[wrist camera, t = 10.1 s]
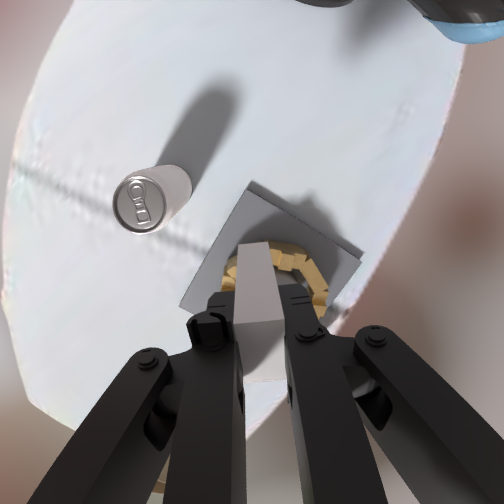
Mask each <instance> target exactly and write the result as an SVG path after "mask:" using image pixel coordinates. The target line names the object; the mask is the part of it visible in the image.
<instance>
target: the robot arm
mask: <svg viewBox="0 0 504 504" xmlns="http://www.w3.org/2000/svg"><path fill="white" fill-rule="evenodd" d="M296 1H299V2H301V3H304V4H308V5H312V6H318V7H340V6H344V5H347V4H349V3H351V2H352V1H354V0H296ZM407 1H408V2H410V3H411V4H412V5H413V6H414V7H415V8H416V9H417V10H418V11H419V12H420V13H421V14H422V15H423V17H424V18H425V19H426V20H428V21H430V22H431V23H432V24H433V25H434V26H435V27H436V28H437V29H438V30H439V31H440V32H441V33H442V34H443V35H444V36H446V37H447V38H448V39H450V40H452V41H455V42H459V43H463V44H477V43H484V42H488V41H492V40H495V39H498V38H501V37H503V36H504V0H407ZM186 326H187V329H188V333H189V336H190V339H191V343H192V348H191V349H190V350H188V351H186V352H183V353H180V354H176V355H172V356H168V355H167V353H166V352H165V351H164V350H162V349H159V348H151V347H150V348H146V349H142V350H140V351H138V352H136V353H135V354H134V355H133V356H132V357H131V358H130V359H129V360H128V362H127V363H126V364H125V366H124V367H123V368H122V370H121V371H120V372H119V373H118V375H117V376H116V377H115V379H114V380H113V381H112V383H111V384H110V385H109V387H108V388H107V389H106V391H105V392H104V393H103V395H102V396H101V397H100V399H99V400H98V401H97V403H96V404H95V406H94V407H93V408H92V410H91V411H90V412H89V414H88V415H87V416H86V418H85V419H84V421H83V422H82V423H81V425H80V426H79V428H78V429H77V430H76V432H75V433H74V435H73V436H72V437H71V439H70V440H69V442H68V443H67V444H66V446H65V447H64V449H63V450H62V452H61V453H60V455H59V456H58V457H57V459H56V460H55V462H54V463H53V465H52V466H51V468H50V469H49V471H48V472H47V474H46V475H45V477H44V478H43V480H42V481H41V483H40V484H39V486H38V487H37V489H36V490H35V492H34V493H33V495H32V496H31V498H30V499H29V501H28V503H27V504H146V503H147V500H148V498H149V496H150V494H151V492H152V490H153V488H154V486H155V484H156V482H157V480H158V478H159V476H160V474H161V472H162V470H163V468H164V466H165V464H166V462H167V459H168V457H169V455H170V459H169V465H168V471H167V478H166V484H165V491H164V497H163V504H247V493H246V438H245V393H244V388H243V380H244V383H255V382H266V381H276V380H285V379H287V388H288V403H289V404H290V411H291V417H292V424H293V431H294V438H295V445H296V452H297V459H298V465H299V474H300V481H301V489H302V495H303V503H304V504H388V501H387V498H386V495H385V491H384V488H383V484H382V481H381V478H380V474H379V471H378V468H377V465H376V461H375V458H374V455H373V452H372V449H371V446H370V443H369V440H368V437H367V434H366V431H365V428H364V425H365V426H366V428H367V429H368V431H369V432H370V433H371V435H372V436H373V438H374V439H375V441H376V442H377V444H378V445H379V446H380V448H381V449H382V451H383V452H384V453H385V455H386V456H387V458H388V459H389V461H390V462H391V463H392V465H393V466H394V468H395V469H396V470H397V472H398V473H399V475H400V476H401V477H402V479H403V480H404V482H405V483H406V484H407V486H408V487H409V489H410V490H411V491H412V493H413V494H414V496H415V497H416V498H417V500H418V501H419V503H420V504H504V440H503V439H502V437H501V436H500V435H499V434H498V433H497V432H496V431H495V430H494V429H493V428H492V427H491V426H490V425H489V424H488V423H487V422H486V421H485V420H484V419H483V418H482V417H481V416H480V415H479V414H478V413H477V412H476V411H475V410H474V409H473V408H472V407H471V406H470V405H469V404H468V402H467V401H465V400H464V399H463V398H462V397H461V396H460V395H459V394H458V393H457V392H456V391H455V390H454V389H453V388H452V387H451V386H450V385H449V384H448V383H447V382H446V381H445V380H444V379H443V378H442V377H441V376H440V375H439V374H438V373H437V372H436V371H434V369H433V368H431V367H430V366H429V365H428V364H427V363H426V362H425V361H424V360H423V359H422V358H421V357H420V356H419V355H418V354H417V353H415V352H414V351H413V350H412V349H411V348H410V347H409V346H408V345H407V344H406V343H405V342H404V341H402V340H401V339H400V338H399V337H398V336H397V335H396V334H395V333H394V332H393V331H391V330H390V329H388V328H386V327H383V326H377V325H371V326H366V327H363V328H362V329H360V330H359V331H358V332H357V334H356V336H355V338H353V337H340V336H335V335H332V334H330V333H329V331H328V330H327V329H326V327H324V326H322V325H321V324H320V322H319V320H318V317H317V315H316V312H315V309H314V307H313V304H312V302H311V299H310V297H309V294H308V291H307V289H306V288H305V287H304V286H302V285H301V284H300V283H295V284H286V285H277V281H276V277H275V272H274V268H273V263H272V258H271V254H270V249H269V245H268V242H259V243H249V244H239V245H238V255H237V270H236V286H235V290H234V291H223V292H214V293H213V295H212V296H211V297H210V298H209V299H208V303H207V308H206V311H202V312H200V313H197V314H195V315H194V316H192V317H191V318H190V319H189V320H188V322H187V323H186ZM363 423H364V425H363ZM170 453H171V454H170Z"/></svg>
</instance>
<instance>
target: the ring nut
mask: <svg viewBox="0 0 504 504" xmlns="http://www.w3.org/2000/svg"><path fill="white" fill-rule="evenodd" d="M259 242H260V241H259V240H258V241H257V242H255V243H259ZM264 242H268V245H269V249H270V254H271V258H272V263H273V265H276V266H277V267H278V269H280V270H287V271H291V269H292V268H294V269H299V270H300V271H301V273H302V274H303V276H304V277H305V279H306V281H307V282H308V284H307V288H306V289H307V291H308V294H309V297H310V299H311V302H312V304H313V307H314V309H315V312H316V315H317V317H318V320H319V319H320V317H324V314H325V312H326V309H327V305H326V303H325V302H326V300H327V297H328V294H329V291H328V289H327V288H329V287H328V285H327V283H326V282H325V280H324V278H323V277H322V275H321V273H320V272H319V270H318V268H317V267H316V265H315V263H314V262H313V260H312V258H311V257H310V255H309V254H308V252H307V251H306V249H304V250H303V248H302V247H301V246H300V245H294V244H289V243H284V242H278V241H273V240H267V239H264ZM237 255H238V254H237ZM237 255H235V256H234V257H232V258H230V259H229V260H228V261H227V265H225V266H224V271H223V277H222V283H221V289H220V292H223V291H234V290H235V286H236V270H237Z"/></svg>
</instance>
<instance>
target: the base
mask: <svg viewBox="0 0 504 504" xmlns="http://www.w3.org/2000/svg"><path fill="white" fill-rule="evenodd" d="M264 239H267V240H273V241H278V242H284V243H289V244H294V245H300V246H301V247H302V248H303V250H304V249H306V251H307V252H308V254H309V255H310V257H311V258H312V260H313V262H314V263H315V265H316V267H317V268H318V270H319V272H320V273H321V275H322V277H323V278H324V280H325V282H326V283H327V285H328V287H329V288H327V289H328V291H329V294H328V297H327V300H326V302H325V303H326V305H327V308H328V307H329V306H330V305H331V303H332V302H333V301H334V299H335V298H336V297H337V296H338V294H339V293H340V292H341V290H342V289H343V288H344V286H345V285H346V284H347V282H348V281H349V280H350V278H351V277H352V276H353V274H354V273H355V272H356V270H357V269H358V267H359V266H360V265H361V263H362V262H361V261H360V260H359V259H358V258H357V257H355V256H354V255H352V254H351V253H349V252H348V251H346V250H345V249H343V248H342V247H340V246H339V245H337V244H335V243H334V242H332V241H331V240H329V239H328V238H326V237H325V236H323V235H322V234H320V233H318V232H317V231H315V230H314V229H312V228H311V227H309V226H307V225H306V224H304V223H303V222H301V221H300V220H298V219H296V218H295V217H293V216H291V215H290V214H288V213H287V212H285V211H283V210H282V209H280V208H278V207H277V206H275V205H273V204H272V203H270V202H268V201H267V200H265V199H263V198H262V197H260V196H258V195H257V194H255V193H253V192H252V191H250V190H248V189H245V191H244V193H243V194H242V196H241V198H240V199H239V201H238V203H237V204H236V206H235V208H234V209H233V211H232V213H231V214H230V216H229V218H228V219H227V221H226V223H225V224H224V226H223V228H222V230H221V231H220V233H219V235H218V236H217V238H216V240H215V242H214V243H213V245H212V247H211V249H210V250H209V252H208V254H207V256H206V257H205V259H204V261H203V263H202V264H201V266H200V268H199V270H198V271H197V273H196V275H195V277H194V279H193V280H192V282H191V284H190V286H189V288H188V289H187V291H186V293H185V295H184V297H183V298H182V300H181V302H180V305H179V307H180V308H182V309H184V310H186V311H188V312H190V313H192V314H194V315H195V314H197V313H200V312H202V311H206V308H207V303H208V299H209V298H210V297H211V296H212V295H213V293H214V292H220V289H221V283H222V277H223V271H224V266H225V265H227V261H228V260H229V259H230V258H232V257H234V256H235V255H237V254H238V245H239V244H249V243H255V242H257V241H258V240H259V241H260V242H264ZM273 268H274V272H275V277H276V281H277V285H286V284H295V283H300V284H301V285H302V286H304V287H305V288H307V284H308V282H307V281H306V279H305V277H304V276H303V274H302V273H301V271H300V270H299V269H294V268H292V269H291V271H287V270H280V269H278V267H277V266H276V265H273ZM326 310H327V309H326Z"/></svg>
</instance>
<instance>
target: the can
mask: <svg viewBox="0 0 504 504" xmlns="http://www.w3.org/2000/svg"><path fill="white" fill-rule="evenodd" d="M191 193H192V184H191V180H190V178H189V176H188V174H187V173H186V172H185V171H184V170H183V169H181V168H180V167H178V166H175V165H162V166H156V167H151V168H147V169H142V170H139V171H136V172H133V173H131V174H130V175H128V176H127V177H126V178H125V179H124V180H123V181H122V182H121V183H120V185H119V186H118V187H117V189H116V191H115V193H114V196H113V211H114V215H115V217H116V219H117V221H118V222H119V224H120V225H121V226H122V227H123V228H125V229H126V230H128V231H129V232H132V233H135V234H146V233H152V232H155V231H158V230H160V229H161V228H163V227H164V226H165V225H166V224H167V223H168V222H169V221H170V220H171V219H172V218H173V217H174V216H175V215H176V214H177V213H178V212H179V211H180V210H181V209H182V208H183V207H184V206H185V205H186V204H187V202H188V201H189V199H190V196H191Z"/></svg>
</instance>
